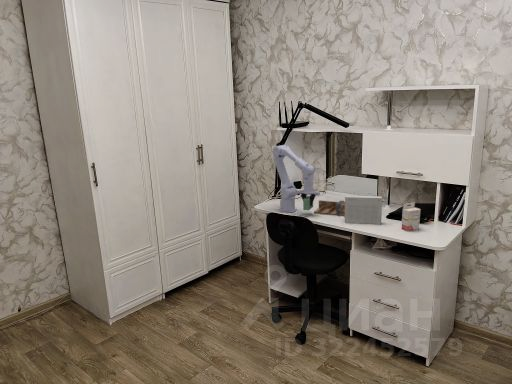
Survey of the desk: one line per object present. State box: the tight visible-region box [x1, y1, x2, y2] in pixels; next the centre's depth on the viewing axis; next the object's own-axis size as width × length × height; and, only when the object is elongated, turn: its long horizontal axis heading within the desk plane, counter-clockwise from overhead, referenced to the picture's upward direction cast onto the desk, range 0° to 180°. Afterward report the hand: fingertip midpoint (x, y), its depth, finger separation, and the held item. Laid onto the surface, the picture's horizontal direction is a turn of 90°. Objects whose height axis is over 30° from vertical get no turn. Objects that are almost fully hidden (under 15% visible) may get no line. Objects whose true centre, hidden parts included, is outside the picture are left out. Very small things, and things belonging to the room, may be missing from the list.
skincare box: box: [344, 195, 383, 225], centre depth 237 cm, size 21×6×16 cm, turn 74°
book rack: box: [313, 200, 345, 217], centre depth 259 cm, size 20×11×8 cm, turn 64°
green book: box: [302, 195, 314, 211], centre depth 255 cm, size 4×9×7 cm, turn 154°
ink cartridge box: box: [401, 201, 421, 232], centre depth 222 cm, size 9×5×15 cm, turn 112°
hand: (308, 205), depth 255 cm, fingers closed on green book, 3 cm apart
